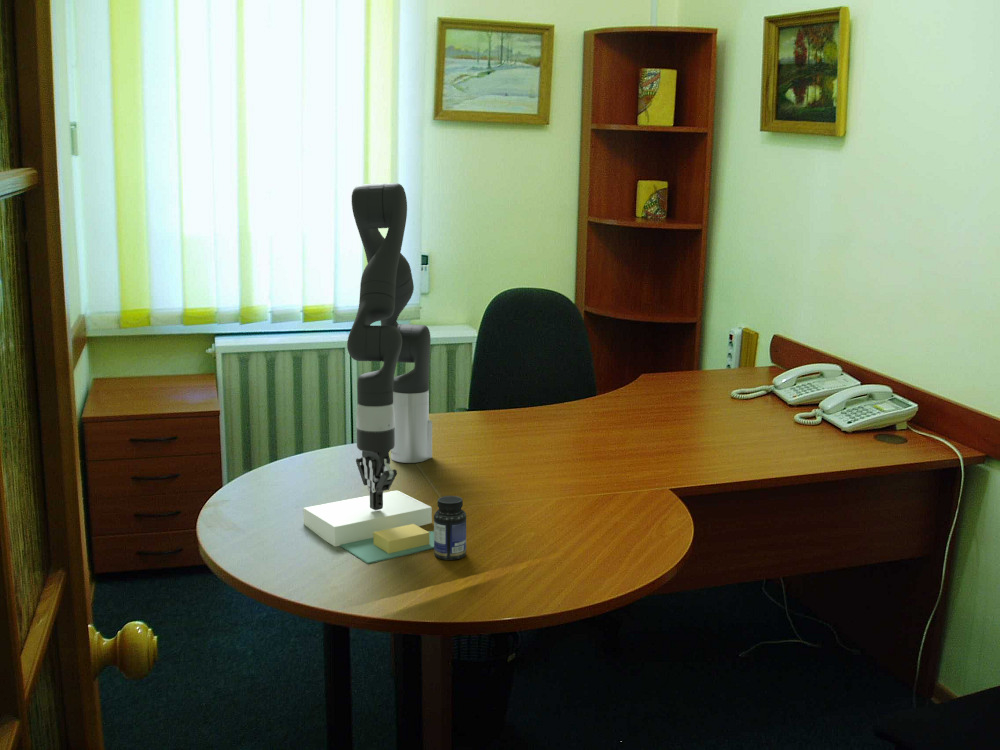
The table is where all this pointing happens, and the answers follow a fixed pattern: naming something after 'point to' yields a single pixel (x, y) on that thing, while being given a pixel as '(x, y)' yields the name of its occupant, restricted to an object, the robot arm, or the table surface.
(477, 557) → the table surface
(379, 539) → the cream yellow sponge block
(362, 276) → the robot arm
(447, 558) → the pill bottle
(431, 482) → the table surface
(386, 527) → the white rectangular block
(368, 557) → the mat
